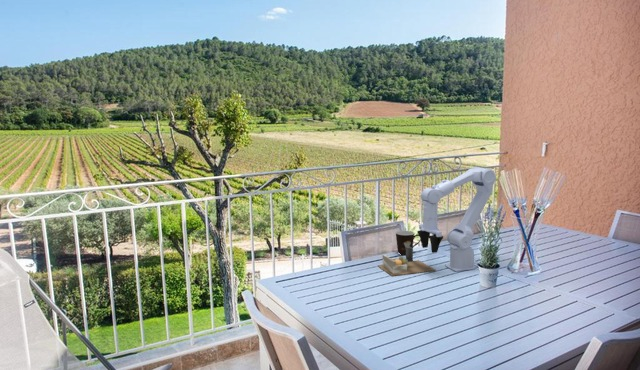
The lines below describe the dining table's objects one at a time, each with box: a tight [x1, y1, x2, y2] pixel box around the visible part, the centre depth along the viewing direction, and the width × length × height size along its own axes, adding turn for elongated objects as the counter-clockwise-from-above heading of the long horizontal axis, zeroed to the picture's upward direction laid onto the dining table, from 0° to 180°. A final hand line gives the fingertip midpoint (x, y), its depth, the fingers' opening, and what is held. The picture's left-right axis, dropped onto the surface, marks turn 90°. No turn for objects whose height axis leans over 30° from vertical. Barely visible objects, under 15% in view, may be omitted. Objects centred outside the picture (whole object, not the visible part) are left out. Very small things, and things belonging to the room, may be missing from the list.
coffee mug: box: [395, 230, 421, 257], centre depth 224 cm, size 12×9×10 cm
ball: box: [394, 258, 402, 266], centre depth 202 cm, size 4×4×4 cm
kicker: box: [398, 247, 414, 267], centre depth 203 cm, size 5×6×8 cm
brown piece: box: [377, 254, 437, 277], centre depth 203 cm, size 20×14×6 cm
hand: (429, 249), depth 198 cm, fingers open, 7 cm apart
